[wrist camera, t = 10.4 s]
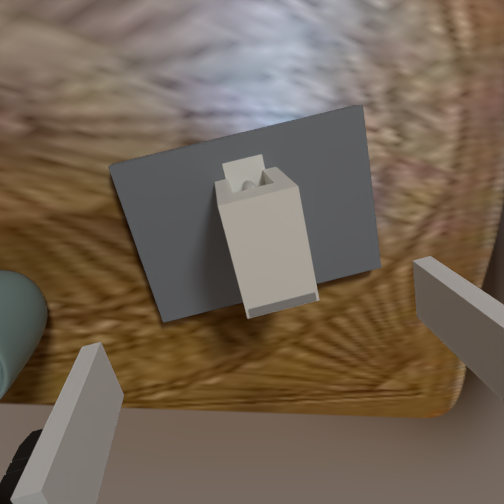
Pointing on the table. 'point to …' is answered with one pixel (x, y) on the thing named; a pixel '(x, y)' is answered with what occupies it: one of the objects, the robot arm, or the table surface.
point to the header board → (242, 178)
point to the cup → (19, 324)
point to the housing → (268, 244)
